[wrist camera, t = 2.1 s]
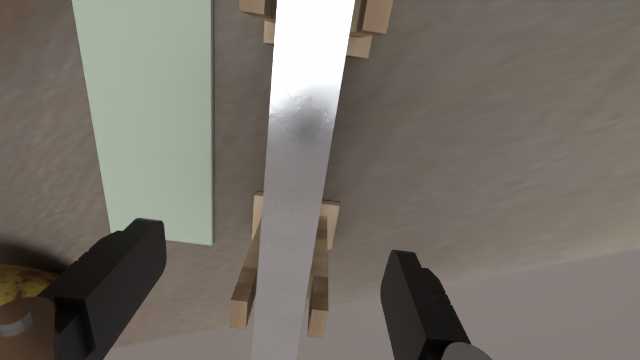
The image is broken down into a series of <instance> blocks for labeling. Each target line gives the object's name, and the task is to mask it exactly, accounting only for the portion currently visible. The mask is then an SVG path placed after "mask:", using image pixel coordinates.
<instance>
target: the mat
mask: <svg viewBox="0 0 640 360" xmlns="http://www.w3.org/2000/svg"><path fill="white" fill-rule="evenodd" d="M72 3H73V9H74V15H75V21H76V27H77V33H78V39H79V45H80V51H81V57H82V63H83V69H84V75H85V81H86V86H87V92H88V98H89V104H90V110H91V116H92V122H93V128H94V134H95V140H96V146H97V152H98V158H99V164H100V170H101V176H102V182H103V187H104V193H105V199H106V205H107V211H108V217H109V223H110V229H111V233H113V232H115V231H117V230H119V231H123V230H124V229H125V228H126V227H127V226H128V225H129V224H131V223H132V222H133V221H134V220H135V219H136V218H145V219H153V220H161V221H163V223H164V229H165V240H171V241H179V242H187V243H195V244H203V245H213V243H214V49H213V0H72Z"/></svg>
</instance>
